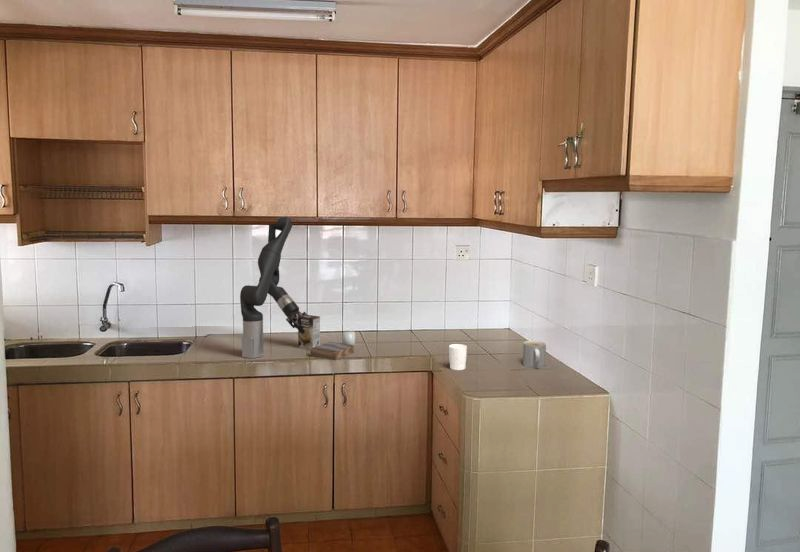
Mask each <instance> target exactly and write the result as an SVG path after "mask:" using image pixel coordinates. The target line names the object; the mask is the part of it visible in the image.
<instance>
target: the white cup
mask: <svg viewBox="0 0 800 552" xmlns="http://www.w3.org/2000/svg"><path fill="white" fill-rule="evenodd" d="M448 352H449V353H448V355H449V357H448V358H449V368H450V369H451V370H453V371H464V370H465V369H466V365H467V363H466V362H467V355H468V346H467V345H466V344H461V343H454V344H452V343H451V344H449V345H448Z"/></svg>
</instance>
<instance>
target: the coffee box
mask: <svg viewBox="0 0 800 552" xmlns="http://www.w3.org/2000/svg"><path fill="white" fill-rule="evenodd" d="M298 322H299V324H300V325H301V327H302V328H303V329H304V330H305V332H304V333H303V334H301V333H300V332H299V330H298V329H297V330H298V332H297V333H298V334H297V336H298V339H297V341H298V344H297V346H298V349H301V350H308V351H311V349H312V348H313V347H316V346H319V345H321V340H320V339H321V337H320V336H321V335H320V334H321V316H319V315H311V314H307V315H301V316H298Z"/></svg>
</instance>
